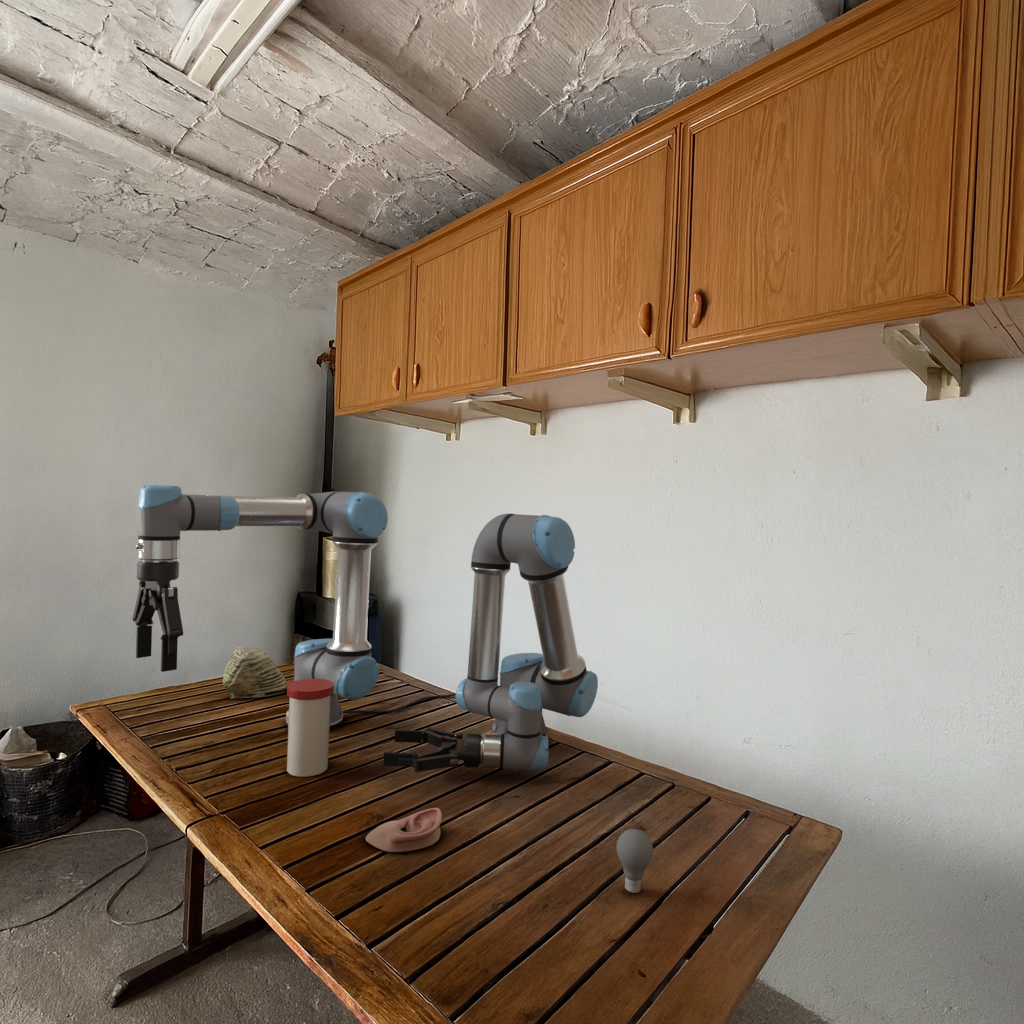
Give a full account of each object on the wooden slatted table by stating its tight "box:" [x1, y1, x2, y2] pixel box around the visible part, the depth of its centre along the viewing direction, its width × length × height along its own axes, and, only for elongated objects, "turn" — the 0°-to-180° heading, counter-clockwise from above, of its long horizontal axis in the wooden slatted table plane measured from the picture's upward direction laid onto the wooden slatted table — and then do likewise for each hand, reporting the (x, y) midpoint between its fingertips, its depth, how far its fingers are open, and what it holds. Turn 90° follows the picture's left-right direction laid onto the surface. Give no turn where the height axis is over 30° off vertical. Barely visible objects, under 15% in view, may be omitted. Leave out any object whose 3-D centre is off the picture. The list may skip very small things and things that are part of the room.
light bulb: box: [615, 828, 654, 894], centre depth 106 cm, size 6×6×10 cm
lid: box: [286, 679, 334, 700], centre depth 147 cm, size 10×10×2 cm
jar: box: [286, 695, 331, 778], centre depth 147 cm, size 9×9×19 cm
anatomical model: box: [364, 807, 443, 853], centre depth 119 cm, size 13×4×12 cm
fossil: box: [222, 646, 288, 699], centre depth 198 cm, size 9×18×15 cm, turn 132°
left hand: (155, 663), depth 130 cm, fingers open, 13 cm apart
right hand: (389, 746), depth 146 cm, fingers open, 13 cm apart
